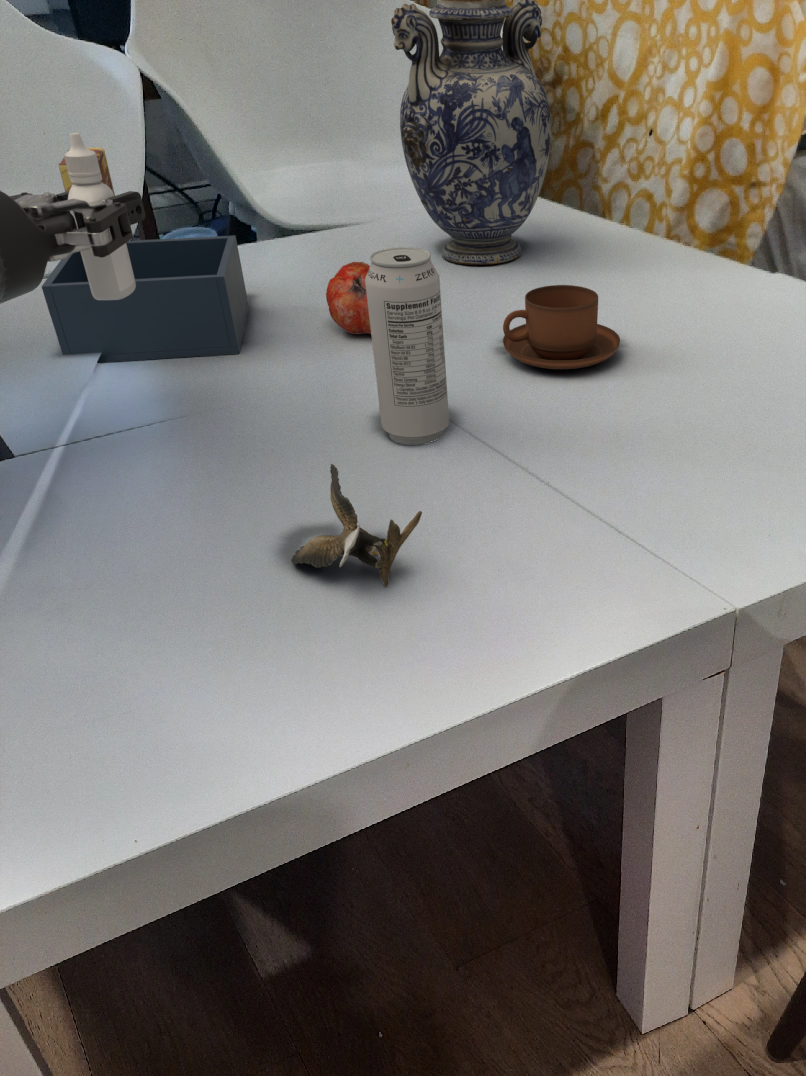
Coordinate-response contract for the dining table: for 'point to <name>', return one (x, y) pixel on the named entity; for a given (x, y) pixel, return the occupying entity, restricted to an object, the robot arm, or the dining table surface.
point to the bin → (155, 303)
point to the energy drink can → (408, 344)
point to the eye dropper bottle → (114, 270)
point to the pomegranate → (350, 298)
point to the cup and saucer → (560, 329)
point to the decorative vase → (474, 122)
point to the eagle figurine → (353, 538)
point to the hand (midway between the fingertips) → (115, 202)
